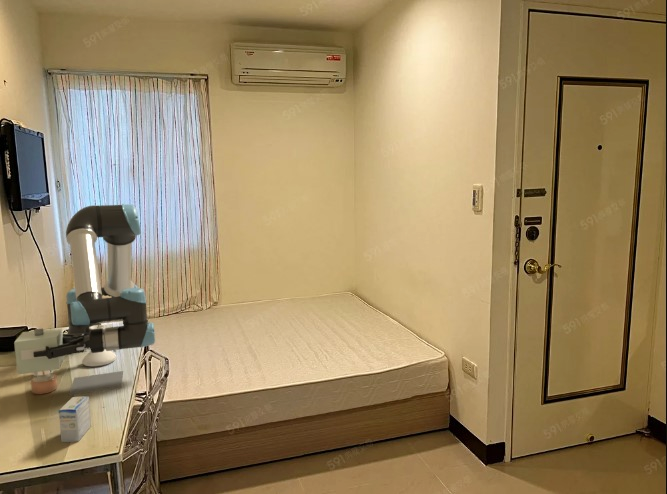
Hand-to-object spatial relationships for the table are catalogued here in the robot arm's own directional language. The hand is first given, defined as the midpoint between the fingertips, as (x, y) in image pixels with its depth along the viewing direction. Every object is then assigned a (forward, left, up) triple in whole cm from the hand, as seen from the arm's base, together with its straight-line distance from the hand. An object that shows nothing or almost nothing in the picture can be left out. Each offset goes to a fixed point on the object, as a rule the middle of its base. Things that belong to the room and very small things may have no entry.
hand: (25, 349), depth 152 cm
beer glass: (-14, -11, -15) cm, 23 cm away
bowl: (-3, +3, -15) cm, 15 cm away
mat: (-12, +14, -15) cm, 24 cm away
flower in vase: (-28, +1, -15) cm, 32 cm away
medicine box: (+16, +34, -15) cm, 41 cm away
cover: (-3, +3, -6) cm, 7 cm away
